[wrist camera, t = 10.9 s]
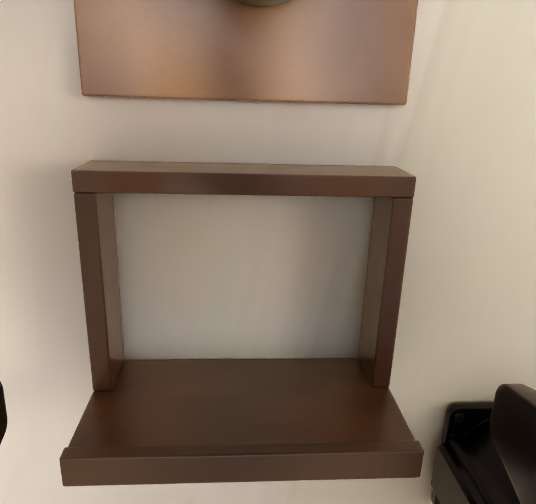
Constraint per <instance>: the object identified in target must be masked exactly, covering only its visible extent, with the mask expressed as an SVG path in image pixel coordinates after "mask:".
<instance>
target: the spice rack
mask: <svg viewBox="0 0 536 504" xmlns="http://www.w3.org/2000/svg"><path fill="white" fill-rule="evenodd" d="M71 174H72V184H73V192H75V193H74V201H75V211H76V221H77V231H78V242H79V252H80V262H81V272H82V282H83V292H84V302H85V312H86V322H87V332H88V343H89V353H90V363H91V373H92V383H93V390H94V392H93V394H92V396H91V398H90V400H89V402H88V405H87V407H86V409H85V411H84V413H83V415H82V418H81V420H80V422H79V424H78V426H77V428H76V431H75V433H74V435H73V437H72V439H71V441H70V444H69V446H68V447H66V448H64V450H63V453H62V455H61V457H60V467H61V474H62V482H63V486H96V485H136V484H176V483H216V482H256V481H296V480H336V479H376V478H416V477H420V473H421V467H422V461H423V455H424V450H423V448H422V446H421V444H420V442H419V441H415V439H414V437H413V435H412V433H411V431H410V429H409V427H408V425H407V423H406V421H405V419H404V417H403V415H402V413H401V411H400V409H399V407H398V405H397V403H396V401H395V399H394V397H393V395H392V393H391V391H390V389H389V384H390V376H391V368H392V360H393V352H394V344H395V337H396V329H397V321H398V313H399V305H400V297H401V289H402V282H403V274H404V266H405V258H406V250H407V242H408V235H409V227H410V219H411V211H412V203H413V197H414V190H415V182H416V177H415V176H413V175H411V174H409V173H407V172H405V171H403V170H401V169H399V168H397V167H389V166H340V165H291V164H242V163H193V162H145V161H96V160H91V161H89V162H87V163H85V164H83V165H81V166H79V167H77V168H76V169H74V170H72V171H71ZM112 193H151V194H214V195H276V196H339V197H375V199H374V209H373V219H372V229H371V239H370V248H369V258H368V268H367V278H366V288H365V298H364V307H363V317H362V327H361V337H360V347H359V359H236V360H124V345H123V332H122V318H121V304H120V291H119V277H118V263H117V250H116V236H115V223H114V209H113V195H112Z"/></svg>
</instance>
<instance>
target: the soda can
mask: <svg viewBox="0 0 536 504" xmlns="http://www.w3.org/2000/svg"><path fill="white" fill-rule="evenodd" d="M235 1H237V2H239V3H242V4H245V5H249V6H253V7H273V6H278V5H282V4H285V3H288V2H290V1H292V0H235Z"/></svg>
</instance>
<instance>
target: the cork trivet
mask: <svg viewBox="0 0 536 504" xmlns="http://www.w3.org/2000/svg"><path fill="white" fill-rule="evenodd" d="M417 6H418V0H292V1H290V2H288V3H285V4H282V5H278V6H273V7H253V6H249V5H245V4H242V3H239V2H237V1H235V0H74V10H75V21H76V33H77V44H78V55H79V67H80V78H81V90H82V95H84V96H116V97H150V98H184V99H217V100H251V101H285V102H319V103H353V104H387V105H405V104H406V101H407V92H408V83H409V75H410V66H411V57H412V49H413V40H414V32H415V23H416V14H417Z"/></svg>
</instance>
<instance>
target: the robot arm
mask: <svg viewBox="0 0 536 504" xmlns="http://www.w3.org/2000/svg"><path fill="white" fill-rule="evenodd" d="M458 413H460V415H458V416H455V415H456V414H458ZM6 428H7V413H6V406H5V399H4V392H3V386H2V383H1V382H0V444H1V442H2V439H3V437H4V434H5V432H6ZM431 485H432V487H433V491H432V497H431V501H432V503H433V504H536V390H534V389H532V388H530V387H528V386H525V385H522V384H502V385H500V386H499V387H498V389H497V391H496V395H495V399H494V403H483V404H454V405H452V406H450V407H449V408H448V409H447V412H446V416H445V422H444V428H443V434H442V439H441V443H440V444H439V445H438V447H437V451H436V457H435V463H434V469H433V475H432V480H431Z"/></svg>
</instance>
